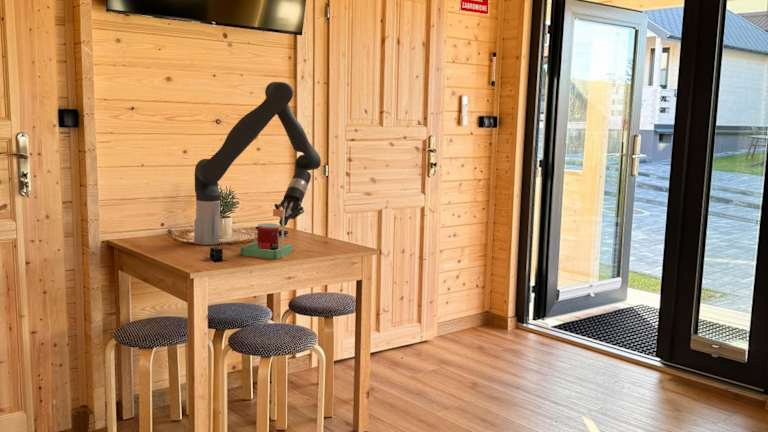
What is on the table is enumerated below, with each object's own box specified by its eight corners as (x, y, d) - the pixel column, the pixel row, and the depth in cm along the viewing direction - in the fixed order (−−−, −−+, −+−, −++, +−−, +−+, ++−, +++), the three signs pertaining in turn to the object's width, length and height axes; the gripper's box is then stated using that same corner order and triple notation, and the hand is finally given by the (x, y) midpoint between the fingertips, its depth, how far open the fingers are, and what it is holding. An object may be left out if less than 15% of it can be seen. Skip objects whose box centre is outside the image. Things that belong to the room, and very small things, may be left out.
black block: (199, 258, 258) (199, 245, 258) (217, 256, 263) (218, 244, 262) (214, 265, 249) (215, 252, 248) (233, 263, 254) (234, 250, 253)
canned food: (273, 256, 265) (274, 227, 263) (253, 254, 267) (254, 225, 265) (281, 252, 272) (282, 224, 271) (261, 250, 274) (262, 222, 272)
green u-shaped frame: (240, 255, 264) (241, 207, 262) (257, 248, 278) (258, 202, 275) (279, 259, 260) (281, 211, 257) (295, 252, 274) (297, 206, 271)
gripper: (278, 184, 290) (264, 217, 280) (308, 187, 286) (295, 221, 276) (283, 196, 296) (269, 229, 286) (313, 199, 292) (299, 233, 282)
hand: (282, 225), depth 281 cm, fingers closed
